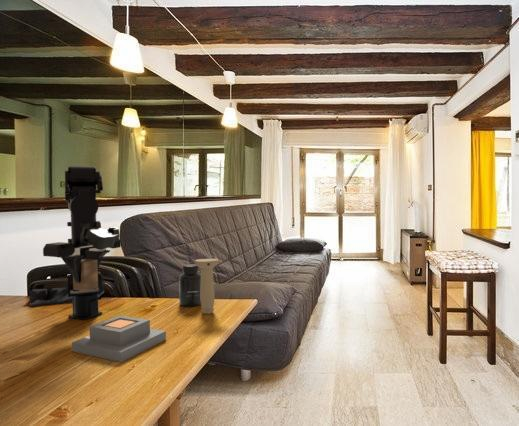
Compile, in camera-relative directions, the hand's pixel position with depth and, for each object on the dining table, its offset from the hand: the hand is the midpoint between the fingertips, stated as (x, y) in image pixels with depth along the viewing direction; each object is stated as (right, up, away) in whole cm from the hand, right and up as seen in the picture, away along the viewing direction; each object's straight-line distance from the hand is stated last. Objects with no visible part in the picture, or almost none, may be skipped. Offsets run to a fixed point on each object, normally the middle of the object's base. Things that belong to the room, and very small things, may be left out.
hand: (85, 280), depth 101 cm
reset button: (+12, -11, -10) cm, 19 cm away
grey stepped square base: (+12, -13, -10) cm, 20 cm away
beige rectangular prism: (0, -2, 0) cm, 2 cm away
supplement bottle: (+22, -11, +24) cm, 35 cm away
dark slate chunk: (-20, -12, +34) cm, 41 cm away
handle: (+28, -12, +15) cm, 34 cm away
